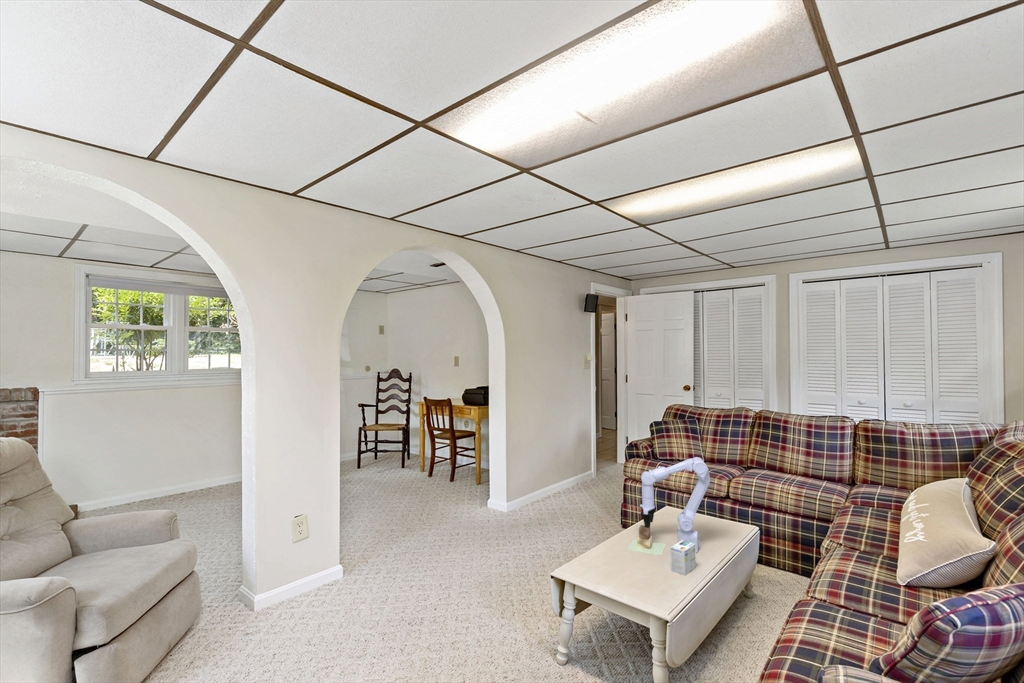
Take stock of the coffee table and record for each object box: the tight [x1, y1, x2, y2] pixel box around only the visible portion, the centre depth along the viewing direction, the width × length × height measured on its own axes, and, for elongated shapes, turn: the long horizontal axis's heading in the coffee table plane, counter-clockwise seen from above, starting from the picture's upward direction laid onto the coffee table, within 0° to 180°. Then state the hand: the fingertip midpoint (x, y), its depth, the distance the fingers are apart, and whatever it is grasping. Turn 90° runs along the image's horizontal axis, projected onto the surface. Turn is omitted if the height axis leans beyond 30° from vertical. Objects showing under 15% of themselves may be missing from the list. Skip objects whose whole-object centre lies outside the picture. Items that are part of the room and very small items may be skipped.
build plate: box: [626, 538, 667, 556], centre depth 231 cm, size 16×14×1 cm
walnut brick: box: [638, 524, 651, 540], centre depth 233 cm, size 4×4×5 cm
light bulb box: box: [670, 540, 697, 576], centre depth 209 cm, size 11×7×11 cm, turn 135°
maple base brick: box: [636, 535, 653, 549], centre depth 233 cm, size 6×6×4 cm
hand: (648, 524), depth 236 cm, fingers open, 7 cm apart
